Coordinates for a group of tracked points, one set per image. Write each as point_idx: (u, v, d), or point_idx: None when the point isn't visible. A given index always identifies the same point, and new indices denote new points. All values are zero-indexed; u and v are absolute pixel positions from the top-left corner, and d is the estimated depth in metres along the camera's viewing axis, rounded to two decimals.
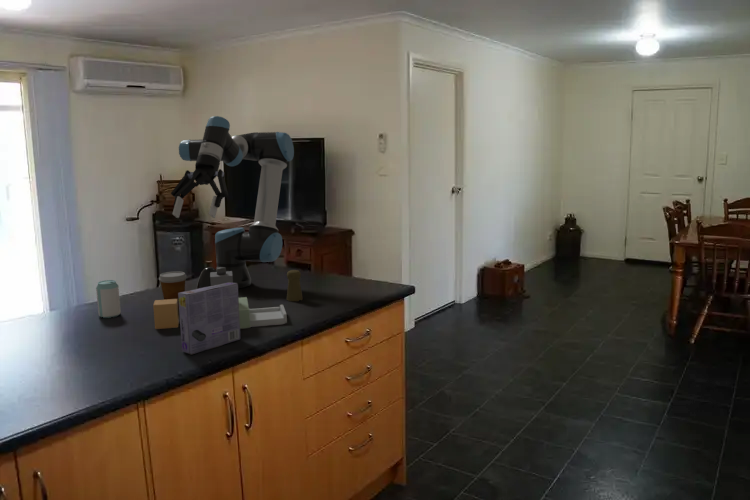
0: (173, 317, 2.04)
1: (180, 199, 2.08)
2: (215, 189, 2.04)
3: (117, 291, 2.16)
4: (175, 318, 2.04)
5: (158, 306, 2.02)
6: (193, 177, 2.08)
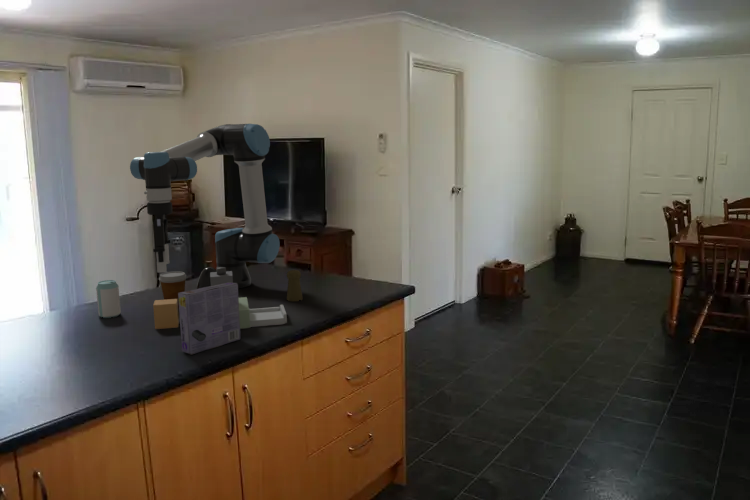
0: (173, 317, 2.04)
1: None
2: None
3: (117, 291, 2.16)
4: (175, 318, 2.04)
5: (158, 306, 2.02)
6: None
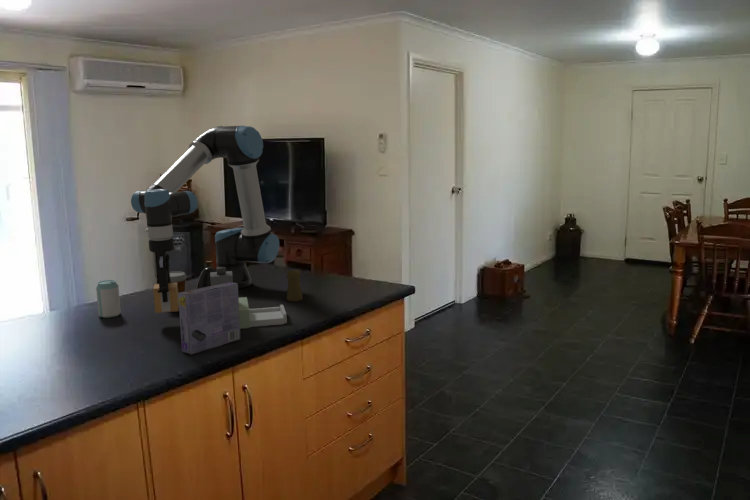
0: (173, 301, 2.03)
1: None
2: None
3: (117, 291, 2.16)
4: (175, 302, 2.03)
5: (158, 290, 2.01)
6: None
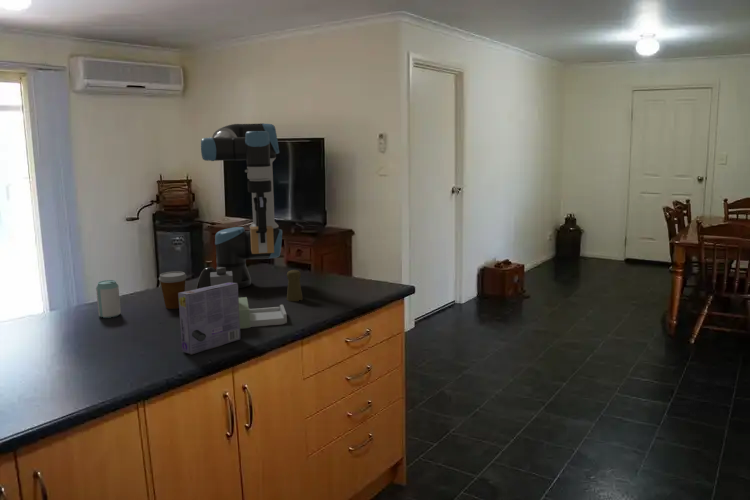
0: (270, 242, 2.05)
1: None
2: (258, 224, 2.02)
3: (117, 291, 2.16)
4: (271, 243, 2.05)
5: (256, 230, 2.03)
6: None
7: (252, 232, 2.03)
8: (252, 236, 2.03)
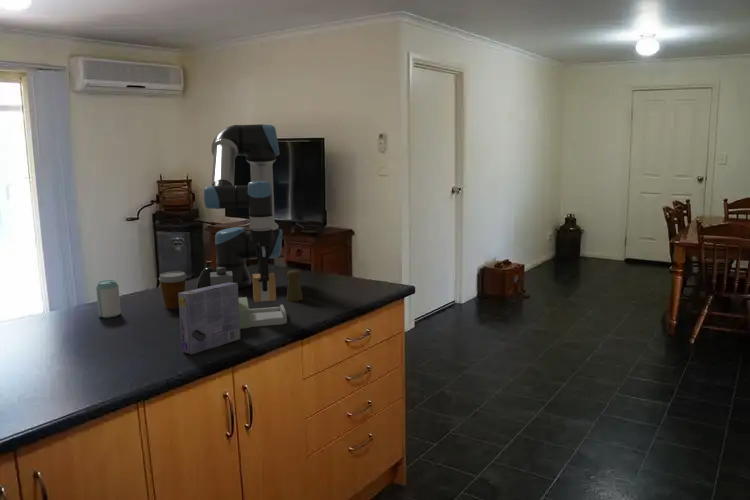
0: (272, 290, 2.08)
1: None
2: (260, 273, 2.05)
3: (117, 291, 2.16)
4: (274, 291, 2.08)
5: (258, 279, 2.06)
6: (256, 253, 2.09)
7: (254, 281, 2.06)
8: (254, 284, 2.06)
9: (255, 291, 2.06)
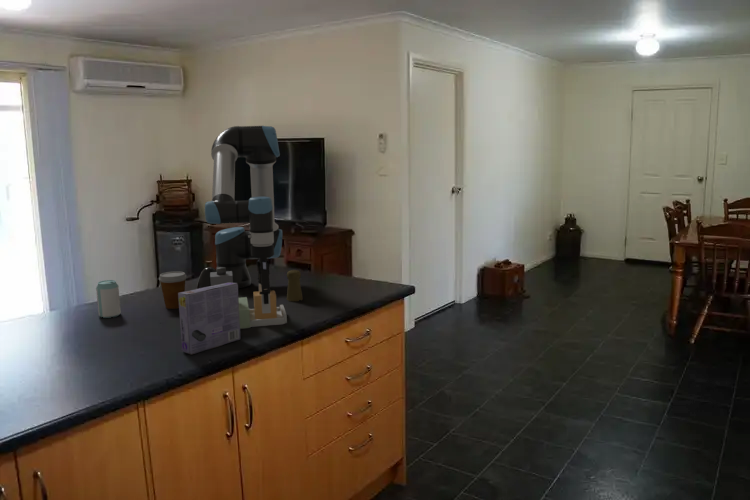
0: (272, 308, 2.09)
1: (261, 286, 2.16)
2: (261, 286, 2.03)
3: (117, 291, 2.16)
4: (274, 309, 2.09)
5: (259, 297, 2.07)
6: None
7: (255, 299, 2.07)
8: (255, 303, 2.07)
9: (256, 309, 2.08)
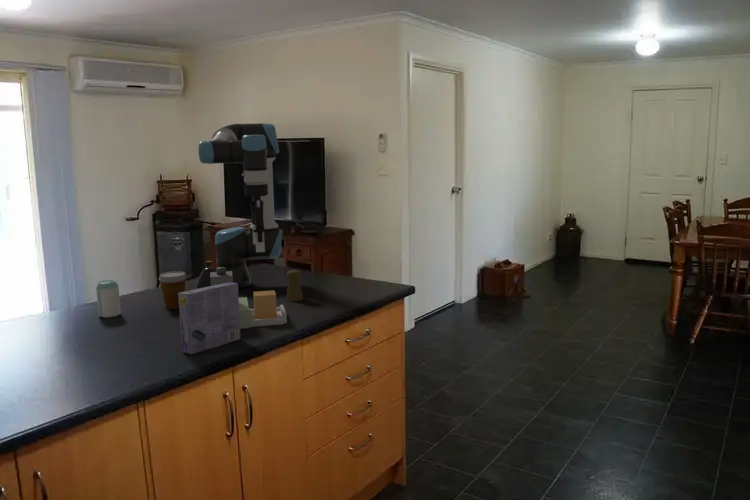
0: (272, 308, 2.09)
1: (255, 227, 2.14)
2: (255, 224, 2.01)
3: (117, 291, 2.16)
4: (274, 309, 2.09)
5: (259, 297, 2.07)
6: None
7: (255, 299, 2.07)
8: (255, 303, 2.07)
9: (256, 309, 2.08)
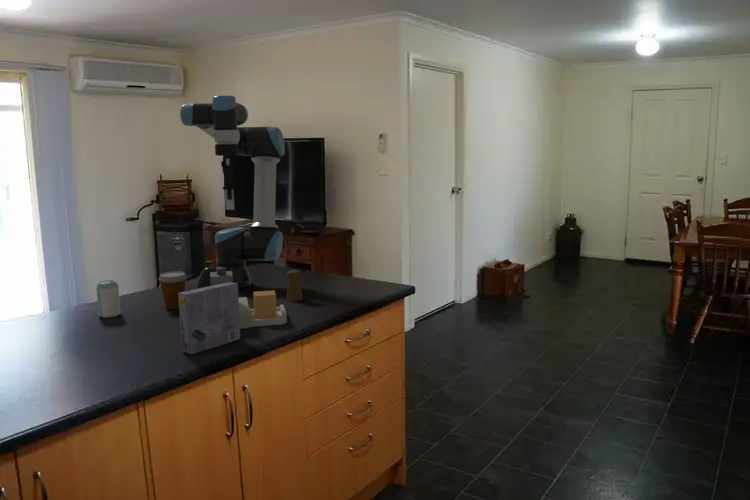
0: (272, 308, 2.09)
1: None
2: None
3: (117, 291, 2.16)
4: (274, 309, 2.09)
5: (259, 297, 2.07)
6: (222, 167, 2.14)
7: (255, 299, 2.07)
8: (255, 303, 2.07)
9: (256, 309, 2.08)
